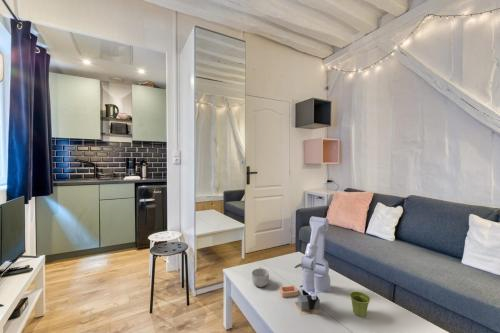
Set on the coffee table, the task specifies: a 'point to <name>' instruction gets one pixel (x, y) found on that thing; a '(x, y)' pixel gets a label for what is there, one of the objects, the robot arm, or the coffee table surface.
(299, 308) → the wooden board
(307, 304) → the gray rectangular block
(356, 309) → the plant pot
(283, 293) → the peach slab
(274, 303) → the coffee table surface
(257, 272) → the teacup
